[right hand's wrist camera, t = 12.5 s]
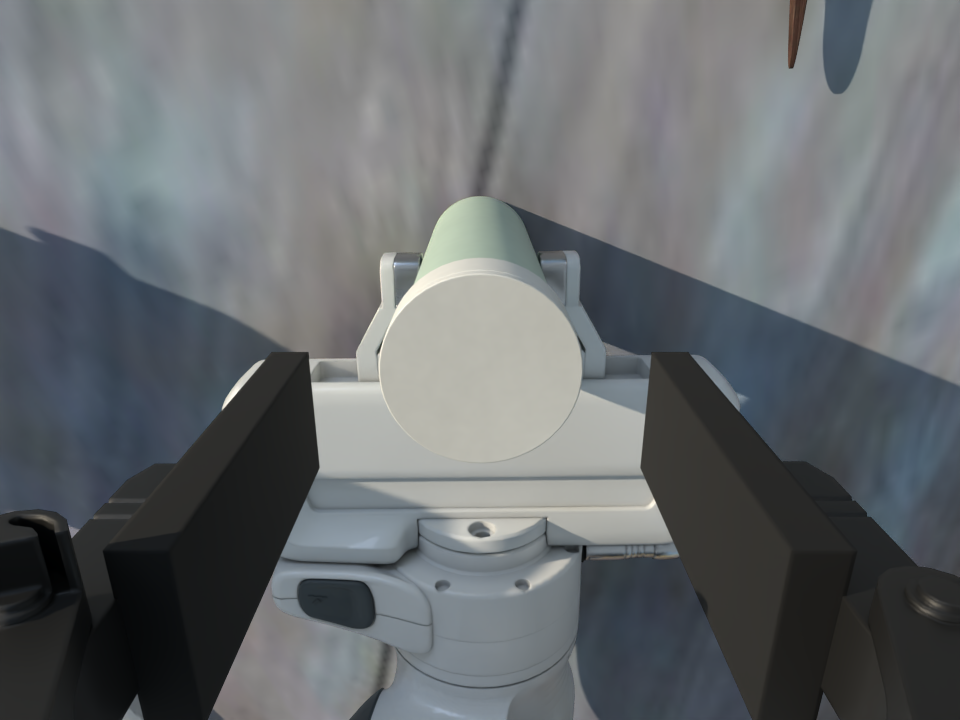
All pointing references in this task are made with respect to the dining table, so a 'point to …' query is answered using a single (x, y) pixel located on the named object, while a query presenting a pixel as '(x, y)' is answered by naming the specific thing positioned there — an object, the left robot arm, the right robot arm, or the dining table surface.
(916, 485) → the dining table surface
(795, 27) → the fork
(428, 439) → the lid
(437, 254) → the light green cylinder
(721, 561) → the right robot arm
